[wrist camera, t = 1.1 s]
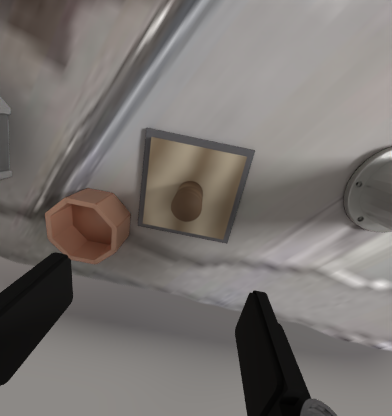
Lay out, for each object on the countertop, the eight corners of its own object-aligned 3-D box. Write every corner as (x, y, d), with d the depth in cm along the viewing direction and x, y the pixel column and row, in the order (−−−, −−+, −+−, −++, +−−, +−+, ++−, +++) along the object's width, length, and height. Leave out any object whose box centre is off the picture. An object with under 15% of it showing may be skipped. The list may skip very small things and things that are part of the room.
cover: (245, 156, 26) (258, 162, 19) (222, 237, 30) (227, 263, 24) (153, 136, 25) (135, 137, 19) (144, 221, 30) (127, 244, 24)
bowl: (131, 196, 29) (117, 208, 25) (128, 249, 33) (114, 268, 28) (68, 184, 29) (42, 193, 24) (72, 238, 33) (49, 255, 28)
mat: (254, 150, 26) (255, 150, 25) (226, 241, 31) (227, 243, 31) (147, 127, 26) (146, 127, 25) (138, 224, 31) (137, 225, 30)
